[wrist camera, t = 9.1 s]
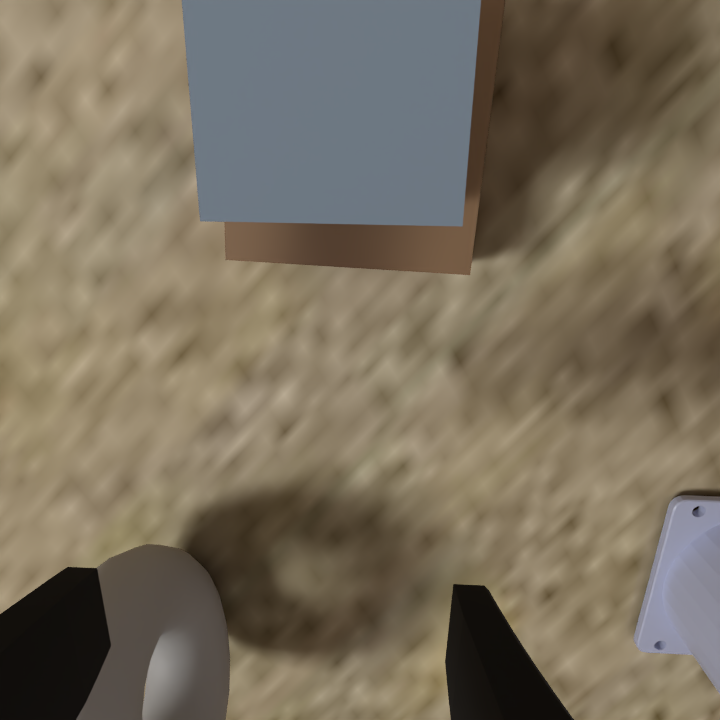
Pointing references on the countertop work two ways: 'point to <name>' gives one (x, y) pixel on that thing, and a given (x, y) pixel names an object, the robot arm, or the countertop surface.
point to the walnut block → (390, 242)
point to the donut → (161, 640)
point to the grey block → (331, 109)
